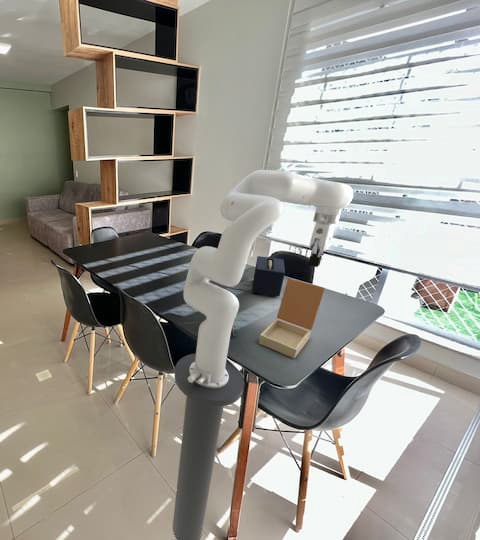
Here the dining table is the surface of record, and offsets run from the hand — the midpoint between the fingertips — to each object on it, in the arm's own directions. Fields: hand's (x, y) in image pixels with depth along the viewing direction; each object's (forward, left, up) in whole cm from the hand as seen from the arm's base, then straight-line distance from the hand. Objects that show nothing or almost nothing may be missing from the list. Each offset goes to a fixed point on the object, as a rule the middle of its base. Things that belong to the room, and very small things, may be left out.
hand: (313, 265), depth 111 cm
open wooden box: (-16, 0, -27) cm, 32 cm away
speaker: (+26, +24, -27) cm, 45 cm away
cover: (-7, 0, -14) cm, 16 cm away
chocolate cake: (-26, +19, -27) cm, 43 cm away
